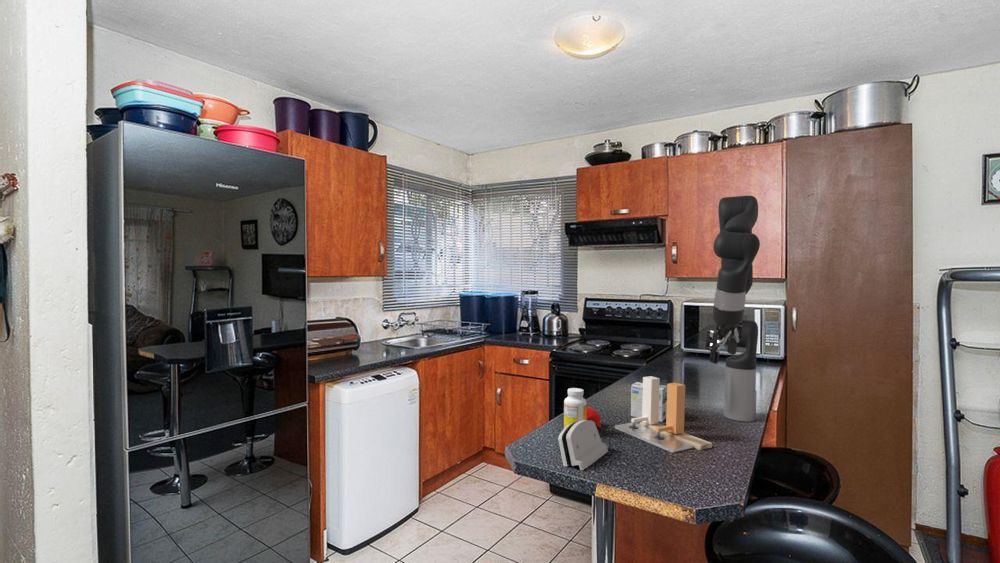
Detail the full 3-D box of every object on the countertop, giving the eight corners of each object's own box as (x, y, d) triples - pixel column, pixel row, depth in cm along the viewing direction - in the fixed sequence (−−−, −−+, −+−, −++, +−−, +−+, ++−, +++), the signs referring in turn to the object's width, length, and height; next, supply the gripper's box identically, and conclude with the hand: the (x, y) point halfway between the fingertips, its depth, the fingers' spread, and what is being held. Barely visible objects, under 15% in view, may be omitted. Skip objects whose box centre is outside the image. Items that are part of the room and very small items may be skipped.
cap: (572, 417, 141) (589, 410, 138) (575, 406, 146) (591, 398, 143) (587, 437, 141) (603, 430, 139) (589, 425, 147) (605, 418, 144)
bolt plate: (633, 424, 145) (633, 421, 145) (692, 448, 126) (692, 444, 126) (614, 428, 141) (614, 425, 141) (672, 452, 122) (672, 449, 122)
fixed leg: (649, 420, 145) (651, 376, 145) (658, 424, 142) (659, 378, 142) (628, 424, 141) (629, 378, 141) (636, 428, 138) (638, 381, 138)
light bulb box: (667, 417, 154) (668, 385, 154) (662, 422, 148) (663, 389, 148) (635, 411, 159) (636, 381, 159) (629, 416, 154) (630, 384, 154)
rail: (650, 424, 146) (650, 420, 146) (712, 447, 127) (712, 443, 127) (639, 426, 143) (639, 422, 143) (700, 450, 124) (700, 445, 124)
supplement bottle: (579, 428, 140) (581, 386, 140) (589, 435, 134) (591, 391, 134) (559, 429, 138) (560, 387, 138) (569, 437, 132) (570, 393, 132)
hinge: (581, 471, 109) (570, 429, 110) (564, 473, 111) (553, 431, 113) (608, 450, 122) (597, 413, 124) (593, 452, 125) (582, 416, 127)
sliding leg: (674, 429, 137) (675, 382, 137) (683, 433, 134) (685, 385, 134) (652, 434, 132) (653, 385, 132) (661, 438, 129) (663, 388, 129)
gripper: (730, 295, 131) (724, 346, 136) (700, 307, 123) (695, 360, 129) (757, 302, 125) (749, 355, 130) (726, 315, 117) (720, 371, 123)
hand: (722, 357), depth 129 cm, fingers open, 8 cm apart
